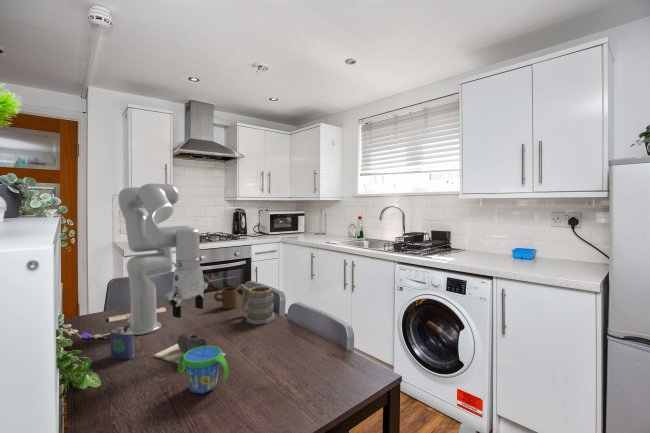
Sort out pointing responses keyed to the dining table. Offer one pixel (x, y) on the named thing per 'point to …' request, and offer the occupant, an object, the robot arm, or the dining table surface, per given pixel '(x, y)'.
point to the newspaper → (128, 316)
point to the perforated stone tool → (190, 342)
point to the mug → (227, 297)
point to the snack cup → (203, 368)
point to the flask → (122, 344)
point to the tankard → (258, 304)
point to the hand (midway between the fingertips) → (188, 312)
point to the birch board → (173, 354)
